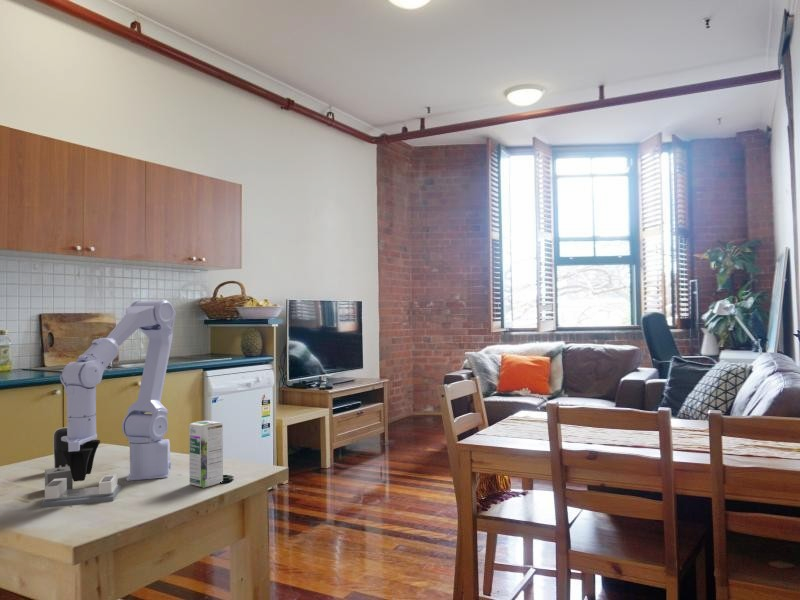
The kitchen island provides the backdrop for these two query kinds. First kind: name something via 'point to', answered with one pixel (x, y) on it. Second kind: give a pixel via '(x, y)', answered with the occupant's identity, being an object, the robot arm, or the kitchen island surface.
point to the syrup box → (205, 453)
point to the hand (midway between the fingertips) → (82, 477)
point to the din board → (81, 497)
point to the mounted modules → (60, 486)
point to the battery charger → (60, 448)
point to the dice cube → (59, 475)
